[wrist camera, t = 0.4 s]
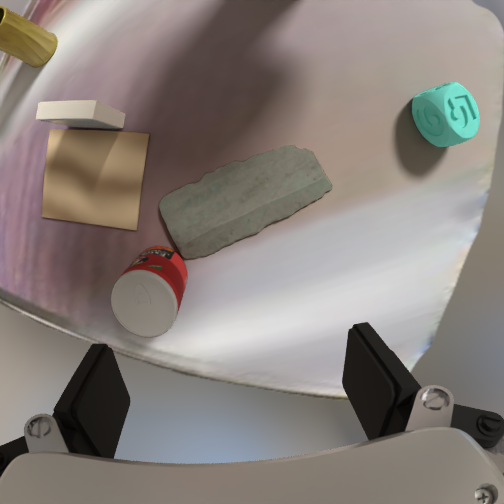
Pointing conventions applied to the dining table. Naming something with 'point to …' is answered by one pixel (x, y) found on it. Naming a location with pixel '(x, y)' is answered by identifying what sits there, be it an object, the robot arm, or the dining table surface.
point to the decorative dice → (446, 114)
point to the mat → (94, 177)
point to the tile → (80, 114)
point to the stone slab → (242, 199)
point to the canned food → (150, 292)
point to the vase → (25, 39)
